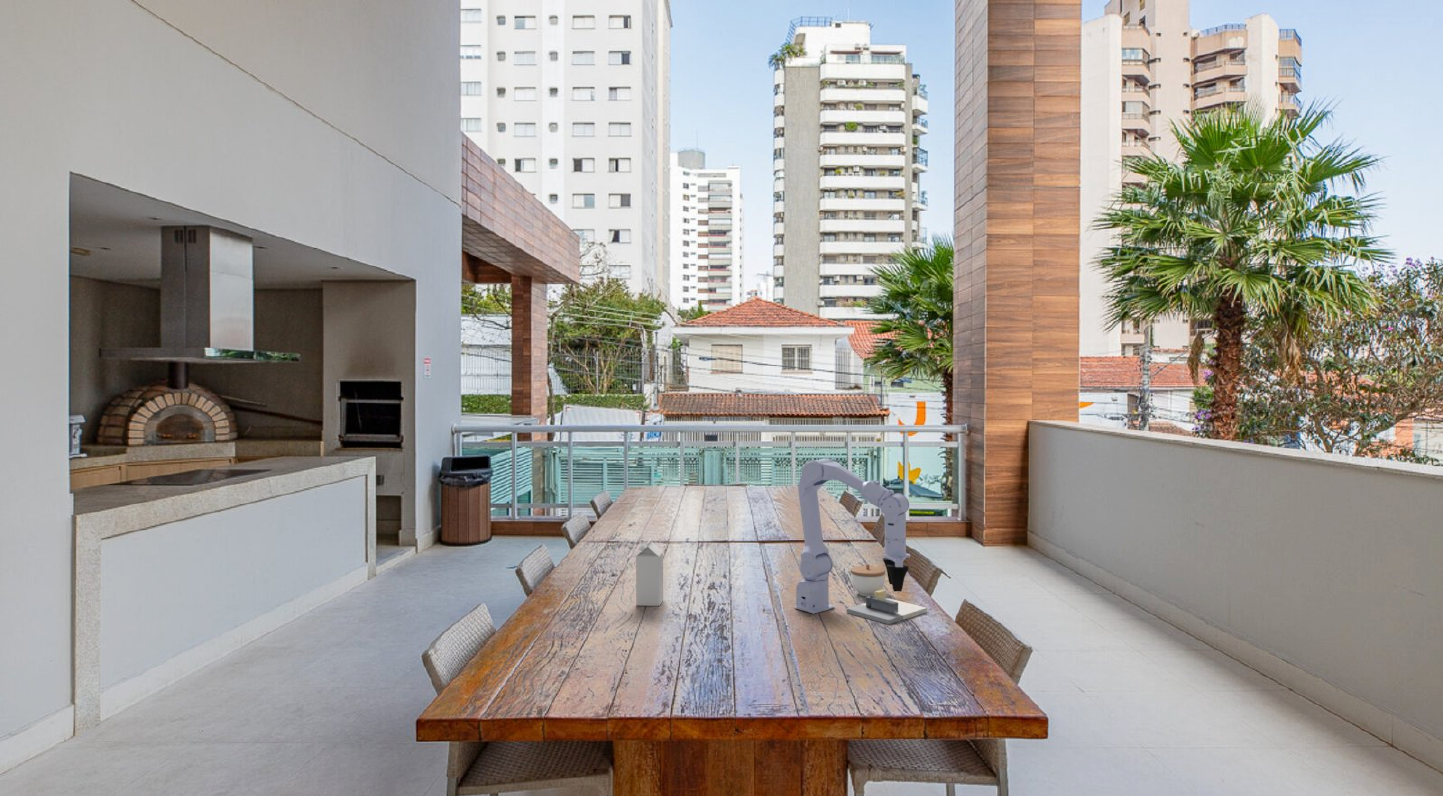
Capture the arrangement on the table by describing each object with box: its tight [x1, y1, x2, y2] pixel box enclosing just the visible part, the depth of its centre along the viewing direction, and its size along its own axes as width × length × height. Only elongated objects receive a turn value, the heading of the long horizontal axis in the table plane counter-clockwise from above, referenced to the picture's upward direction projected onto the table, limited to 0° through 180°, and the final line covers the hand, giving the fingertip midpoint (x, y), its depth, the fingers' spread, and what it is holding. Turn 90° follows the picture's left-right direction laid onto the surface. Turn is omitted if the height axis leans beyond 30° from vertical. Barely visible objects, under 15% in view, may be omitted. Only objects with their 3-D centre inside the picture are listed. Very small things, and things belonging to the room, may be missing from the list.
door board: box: [846, 589, 928, 625], centre depth 221 cm, size 18×15×4 cm
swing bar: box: [865, 596, 898, 614], centre depth 219 cm, size 10×3×3 cm, turn 40°
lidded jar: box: [850, 563, 886, 597], centre depth 242 cm, size 11×11×9 cm
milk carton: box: [635, 538, 664, 607], centre depth 232 cm, size 7×7×19 cm
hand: (895, 587), depth 210 cm, fingers open, 7 cm apart
